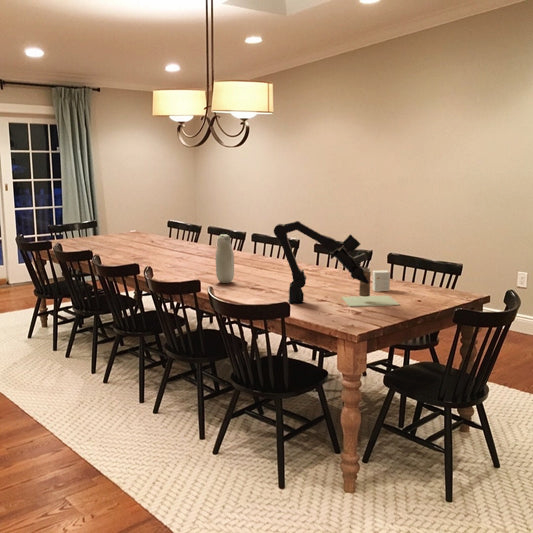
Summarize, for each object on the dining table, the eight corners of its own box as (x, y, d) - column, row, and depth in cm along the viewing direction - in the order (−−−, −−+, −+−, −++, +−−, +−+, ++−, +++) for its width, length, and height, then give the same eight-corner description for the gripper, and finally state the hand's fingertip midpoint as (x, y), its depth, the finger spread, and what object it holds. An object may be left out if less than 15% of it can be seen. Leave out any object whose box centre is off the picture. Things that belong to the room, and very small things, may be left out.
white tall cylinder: (237, 282, 316) (236, 233, 311) (226, 285, 308) (225, 235, 303) (224, 280, 322) (222, 232, 317) (212, 283, 314) (211, 234, 309)
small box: (387, 289, 293) (387, 270, 292) (389, 291, 288) (390, 272, 286) (372, 289, 293) (372, 270, 291) (374, 292, 288) (375, 272, 286)
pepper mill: (363, 296, 261) (364, 267, 258) (357, 294, 265) (358, 266, 263) (372, 295, 263) (372, 266, 261) (365, 293, 268) (366, 265, 265)
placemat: (349, 306, 257) (349, 305, 257) (341, 298, 275) (341, 296, 275) (399, 305, 259) (399, 304, 259) (388, 296, 277) (388, 295, 277)
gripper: (359, 250, 251) (382, 274, 252) (356, 244, 270) (378, 267, 271) (341, 266, 253) (364, 290, 254) (339, 260, 272) (361, 282, 273)
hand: (367, 281), depth 263 cm, fingers closed on pepper mill, 5 cm apart
